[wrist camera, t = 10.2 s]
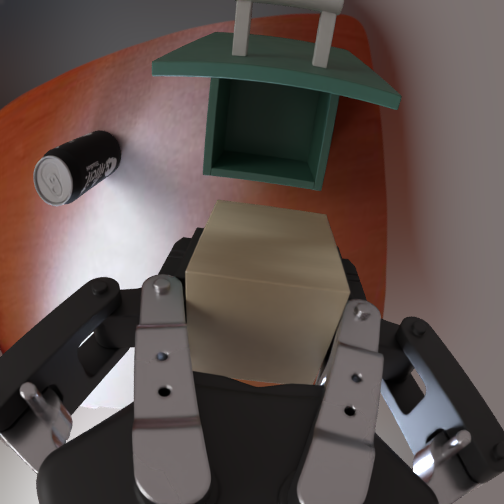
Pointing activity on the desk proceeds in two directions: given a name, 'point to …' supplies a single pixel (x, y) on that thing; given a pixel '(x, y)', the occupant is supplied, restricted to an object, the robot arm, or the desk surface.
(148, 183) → the desk surface
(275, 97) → the chest
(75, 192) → the beverage can
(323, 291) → the block
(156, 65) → the lid
